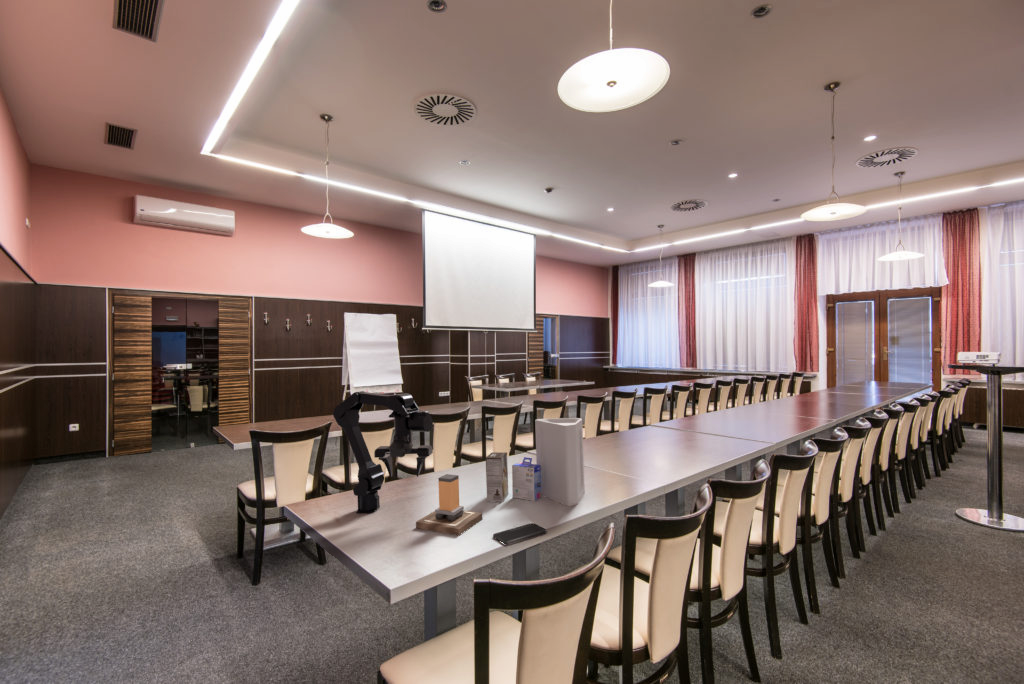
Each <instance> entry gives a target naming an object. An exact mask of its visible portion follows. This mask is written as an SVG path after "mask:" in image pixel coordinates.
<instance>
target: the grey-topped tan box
mask: <svg viewBox="0 0 1024 684" xmlns="http://www.w3.org/2000/svg"><path fill="white" fill-rule="evenodd" d="M459 481H460V479H459V475H456V474H451V473H450V474H449V473H446V474H444V475H441V476H440V477H438V507H436V508H435V509H434V511H435V513H437V514H436V515H435V518H436V519H437V520H440V519H441V518H443V517H445V516H446V515H449V516H448V517H447V519H448V521H449V522H452V521H453V520H455V519H456V518H458V517H460V516H461V515H463V513H464V511H465V507H464V505H460V486H459V485H460V482H459ZM463 510H464V511H463Z"/></svg>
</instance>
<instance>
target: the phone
mask: <svg viewBox="0 0 1024 684" xmlns="http://www.w3.org/2000/svg"><path fill="white" fill-rule="evenodd" d="M547 533H548V532H547V529H546V528H544V527H542V526H540V525H539V524H536V523H533V522H531V523H528V524H523V525H521V526H517V527H516V526H515V527H513V528H508V529H505V530H502V531H499V532H495V533H493V535H492V538H493V537H494V538H496V539H498V540H499V541H501V542H503V543H504V544H506V545H505V546H510V545H514V544H516V543H521V542H524V541H527V540H529V539H532V538H536V537H540V536H543V535H546V534H547ZM494 538H493V539H494ZM496 539H495V540H496ZM499 541H498V542H499Z"/></svg>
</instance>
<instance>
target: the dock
mask: <svg viewBox="0 0 1024 684" xmlns="http://www.w3.org/2000/svg"><path fill="white" fill-rule="evenodd" d="M463 511H464V513H463V515H461V516H460V517H458V518H456V519H455V520H453V521H452V522H449V521H448V519H447V517H448V516H449V515H446V516H445V517H443V518H441V519H440V520H437V519H436V518H435V515H436V514H437V513H435V510H434V511H432V512H431V513H429V514H427V515H425V516H423V517H422V518H420V519H418V520H416V521H415V529H419V528H420V530H424V529H425V531H430V530H431V531H432V532H436V531H437V532H436V533H441V532H442V534H447V533H448V534H449V535H453V534H456V535H455V536H458V535H459V536H461V535H462V534H464V533H465V532H466V530H467V529H468V530H469V529H471V528H473V525H474V526H475V525H476V523H477V524H478V523H479V522H481V521H482V520H483V513H482V512H477V511H470V510H465V509H464V510H463ZM470 527H471V528H470ZM468 530H467V531H468ZM464 531H465V532H464ZM463 532H464V533H463ZM461 533H462V534H461ZM460 534H461V535H460Z"/></svg>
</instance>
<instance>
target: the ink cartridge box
mask: <svg viewBox="0 0 1024 684" xmlns="http://www.w3.org/2000/svg"><path fill="white" fill-rule="evenodd" d="M526 460H528V461H526ZM532 462H533V458H532V457H525V456H523V460H522V462H517V463H515V464H512V465H511V475H512V476H511V477H512V478H511V479H512V480H511V481H512V484H511V485H512V486H511V487H512V489H511V490H512V498H513V497H514V498H513V499H520V500H521V499H522V500H526V501H533V502H535V501H537V500H539V499H541V498H542V495H541V465H537V463H536V464H535V463H532Z"/></svg>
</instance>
